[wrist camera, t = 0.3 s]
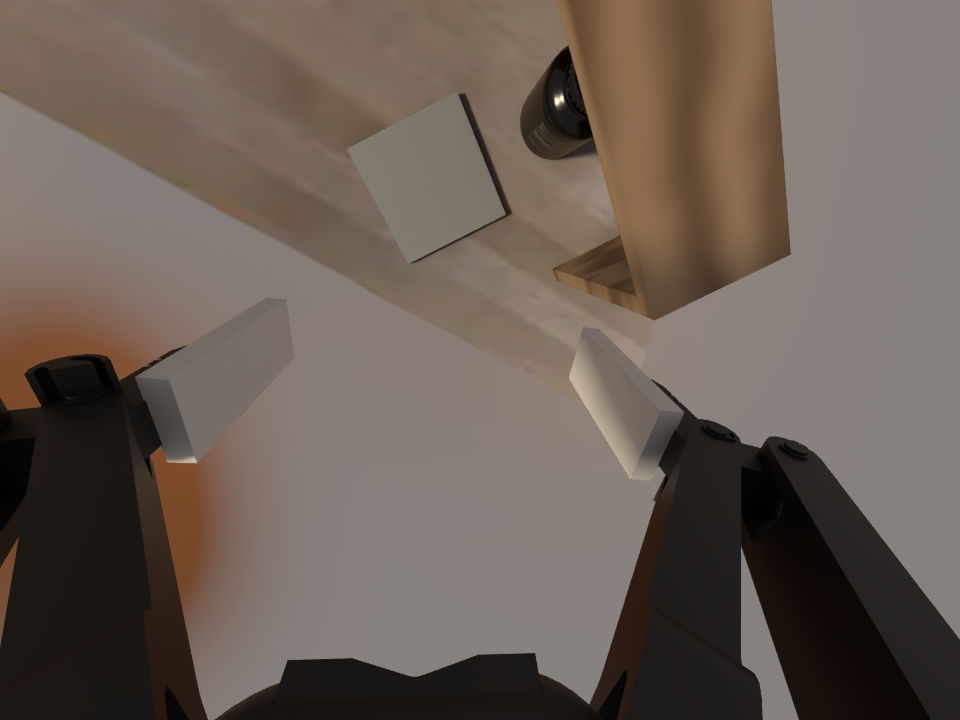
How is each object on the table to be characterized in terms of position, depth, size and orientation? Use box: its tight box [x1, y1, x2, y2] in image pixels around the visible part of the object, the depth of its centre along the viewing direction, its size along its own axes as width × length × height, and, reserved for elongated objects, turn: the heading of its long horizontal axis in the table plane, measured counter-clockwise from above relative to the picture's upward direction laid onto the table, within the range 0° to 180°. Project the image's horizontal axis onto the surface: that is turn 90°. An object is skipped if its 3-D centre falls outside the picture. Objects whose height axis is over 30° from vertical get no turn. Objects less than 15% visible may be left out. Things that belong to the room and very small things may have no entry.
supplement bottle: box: [520, 45, 594, 160], centre depth 30 cm, size 7×7×12 cm
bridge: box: [553, 0, 791, 320], centre depth 26 cm, size 10×31×20 cm, turn 25°
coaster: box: [347, 91, 506, 264], centre depth 35 cm, size 12×12×1 cm
